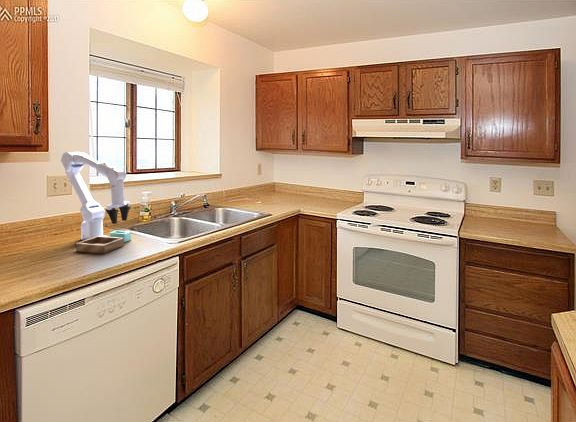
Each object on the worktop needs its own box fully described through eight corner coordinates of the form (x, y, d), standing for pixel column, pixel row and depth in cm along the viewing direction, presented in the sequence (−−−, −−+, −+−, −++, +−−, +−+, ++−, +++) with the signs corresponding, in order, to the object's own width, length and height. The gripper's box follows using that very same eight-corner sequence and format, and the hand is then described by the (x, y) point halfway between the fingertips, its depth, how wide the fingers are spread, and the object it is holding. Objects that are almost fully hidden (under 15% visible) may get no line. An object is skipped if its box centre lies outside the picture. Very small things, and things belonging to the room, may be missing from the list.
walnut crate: (76, 251, 169) (75, 243, 169) (98, 243, 183) (97, 235, 182) (104, 253, 166) (103, 245, 166) (124, 245, 180) (123, 237, 179)
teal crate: (110, 241, 187) (109, 232, 186) (116, 239, 191) (116, 230, 191) (124, 242, 185) (124, 233, 184) (131, 240, 190) (130, 231, 189)
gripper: (115, 196, 176) (117, 225, 179) (134, 192, 190) (135, 219, 193) (101, 195, 178) (103, 224, 180) (121, 192, 192) (123, 218, 194)
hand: (119, 221), depth 186 cm, fingers open, 7 cm apart
